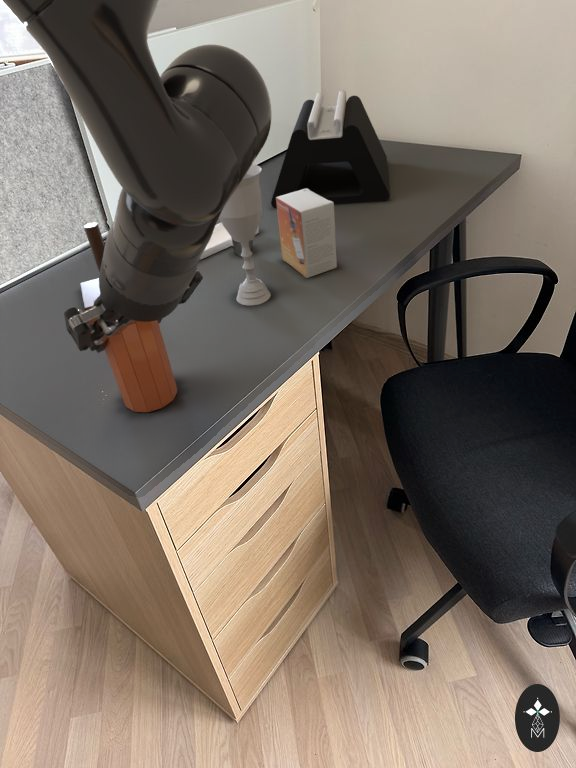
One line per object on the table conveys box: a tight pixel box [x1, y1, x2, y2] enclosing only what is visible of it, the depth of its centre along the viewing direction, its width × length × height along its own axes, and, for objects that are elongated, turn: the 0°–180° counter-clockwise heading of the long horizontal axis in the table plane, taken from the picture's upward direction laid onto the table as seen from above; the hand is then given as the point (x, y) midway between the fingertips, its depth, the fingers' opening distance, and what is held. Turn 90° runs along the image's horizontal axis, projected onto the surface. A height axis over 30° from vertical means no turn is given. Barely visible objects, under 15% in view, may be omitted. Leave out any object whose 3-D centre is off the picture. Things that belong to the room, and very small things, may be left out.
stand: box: [79, 222, 105, 311], centre depth 85 cm, size 9×9×12 cm
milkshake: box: [229, 234, 254, 257], centre depth 92 cm, size 4×5×10 cm
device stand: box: [270, 89, 391, 209], centre depth 112 cm, size 22×22×15 cm
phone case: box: [200, 221, 260, 261], centre depth 99 cm, size 7×1×15 cm
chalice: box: [218, 163, 272, 306], centre depth 78 cm, size 7×7×18 cm
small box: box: [276, 188, 338, 279], centre depth 86 cm, size 8×6×10 cm
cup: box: [97, 320, 179, 413], centre depth 63 cm, size 6×6×12 cm
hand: (124, 330), depth 63 cm, fingers closed on cup, 6 cm apart
